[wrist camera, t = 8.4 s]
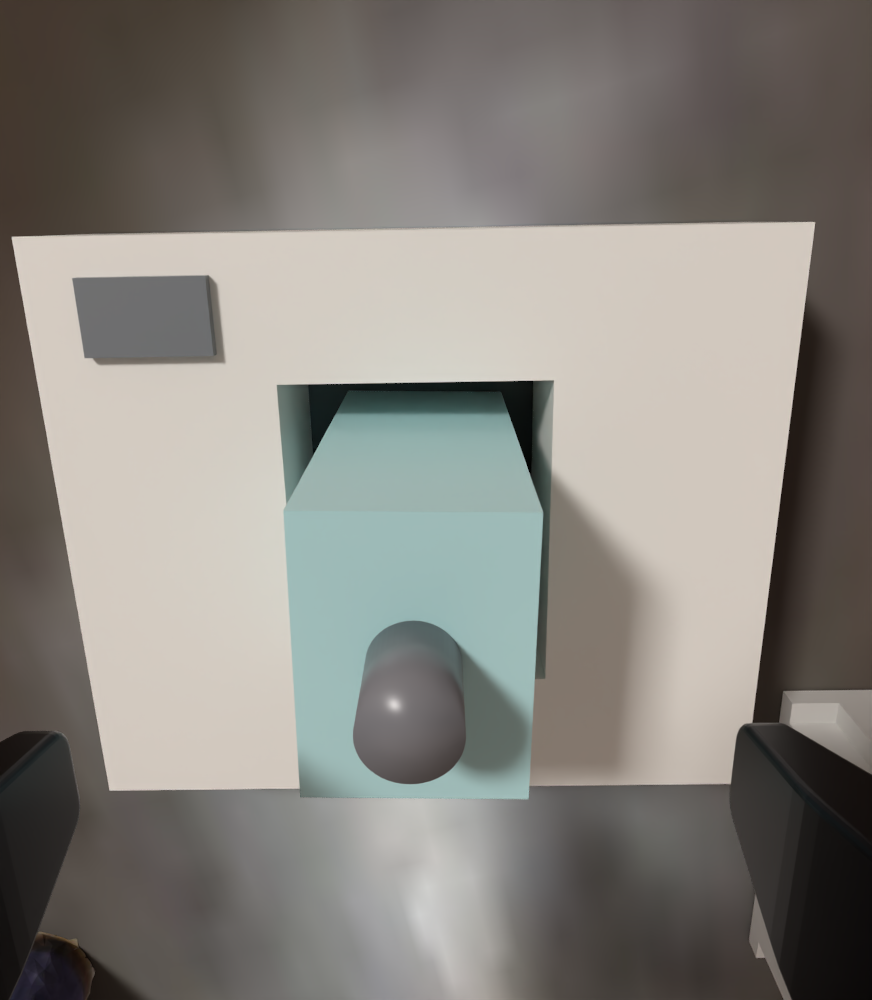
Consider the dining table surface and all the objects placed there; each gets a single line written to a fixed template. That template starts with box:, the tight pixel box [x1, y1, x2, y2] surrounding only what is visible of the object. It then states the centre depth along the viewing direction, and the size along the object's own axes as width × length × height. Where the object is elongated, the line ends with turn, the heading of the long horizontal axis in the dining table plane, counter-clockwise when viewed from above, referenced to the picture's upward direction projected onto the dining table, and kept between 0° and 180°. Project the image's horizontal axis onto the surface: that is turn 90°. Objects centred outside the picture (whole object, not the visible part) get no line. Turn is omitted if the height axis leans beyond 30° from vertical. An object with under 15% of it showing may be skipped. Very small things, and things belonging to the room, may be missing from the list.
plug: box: [283, 391, 543, 799], centre depth 13 cm, size 3×4×8 cm
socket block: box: [12, 222, 815, 791], centre depth 15 cm, size 12×10×3 cm
